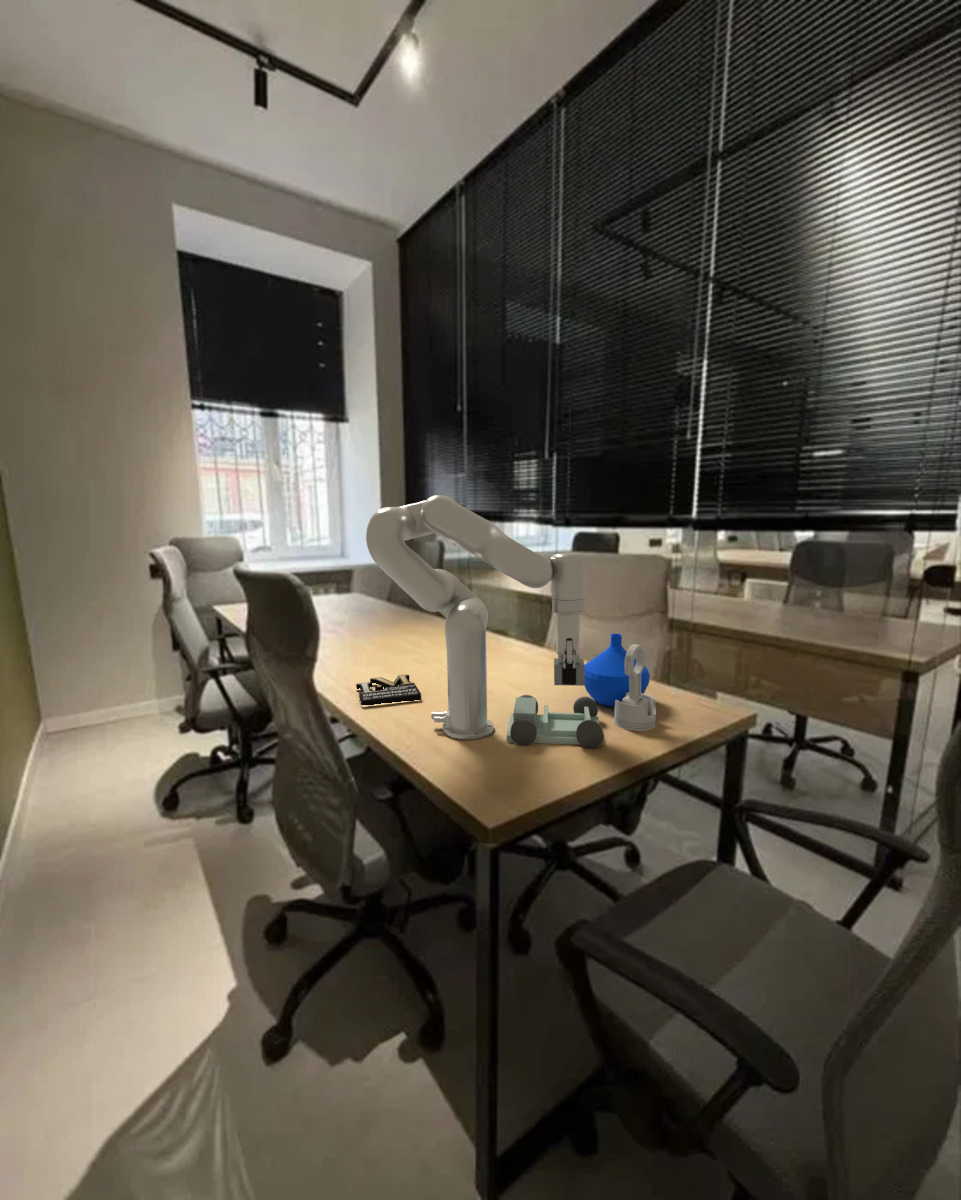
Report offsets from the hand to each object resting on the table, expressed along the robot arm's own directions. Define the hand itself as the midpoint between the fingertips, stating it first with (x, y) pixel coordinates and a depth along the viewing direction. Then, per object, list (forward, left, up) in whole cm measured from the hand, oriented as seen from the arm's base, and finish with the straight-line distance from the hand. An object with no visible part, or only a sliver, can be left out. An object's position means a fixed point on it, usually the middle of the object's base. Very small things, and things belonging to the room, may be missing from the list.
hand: (568, 679), depth 132 cm
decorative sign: (-52, +24, -14) cm, 59 cm away
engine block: (0, 0, -1) cm, 1 cm away
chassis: (-3, 0, -13) cm, 14 cm away
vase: (+14, +23, -13) cm, 30 cm away
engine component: (+17, +7, -13) cm, 23 cm away
